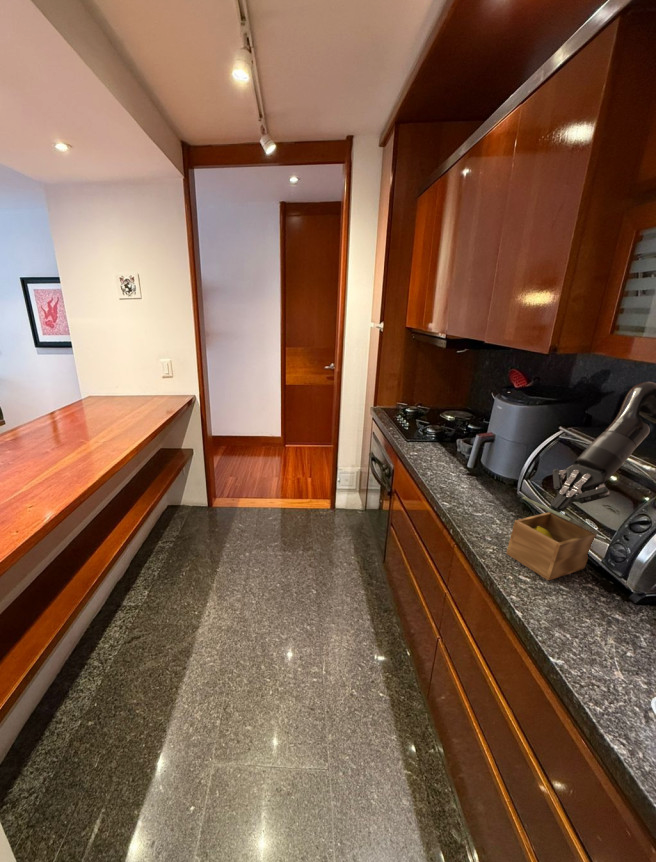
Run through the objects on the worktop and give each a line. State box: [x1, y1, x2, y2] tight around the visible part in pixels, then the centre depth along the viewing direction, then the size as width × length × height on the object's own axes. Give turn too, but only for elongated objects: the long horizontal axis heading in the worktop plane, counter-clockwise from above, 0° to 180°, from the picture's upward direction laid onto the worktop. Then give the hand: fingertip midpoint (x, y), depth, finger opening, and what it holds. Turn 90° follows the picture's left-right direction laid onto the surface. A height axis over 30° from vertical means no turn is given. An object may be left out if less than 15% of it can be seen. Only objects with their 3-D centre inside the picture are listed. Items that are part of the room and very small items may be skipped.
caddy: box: [505, 511, 598, 581], centre depth 97 cm, size 13×12×10 cm
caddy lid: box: [521, 496, 599, 535], centre depth 94 cm, size 13×12×1 cm
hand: (554, 509), depth 92 cm, fingers closed
